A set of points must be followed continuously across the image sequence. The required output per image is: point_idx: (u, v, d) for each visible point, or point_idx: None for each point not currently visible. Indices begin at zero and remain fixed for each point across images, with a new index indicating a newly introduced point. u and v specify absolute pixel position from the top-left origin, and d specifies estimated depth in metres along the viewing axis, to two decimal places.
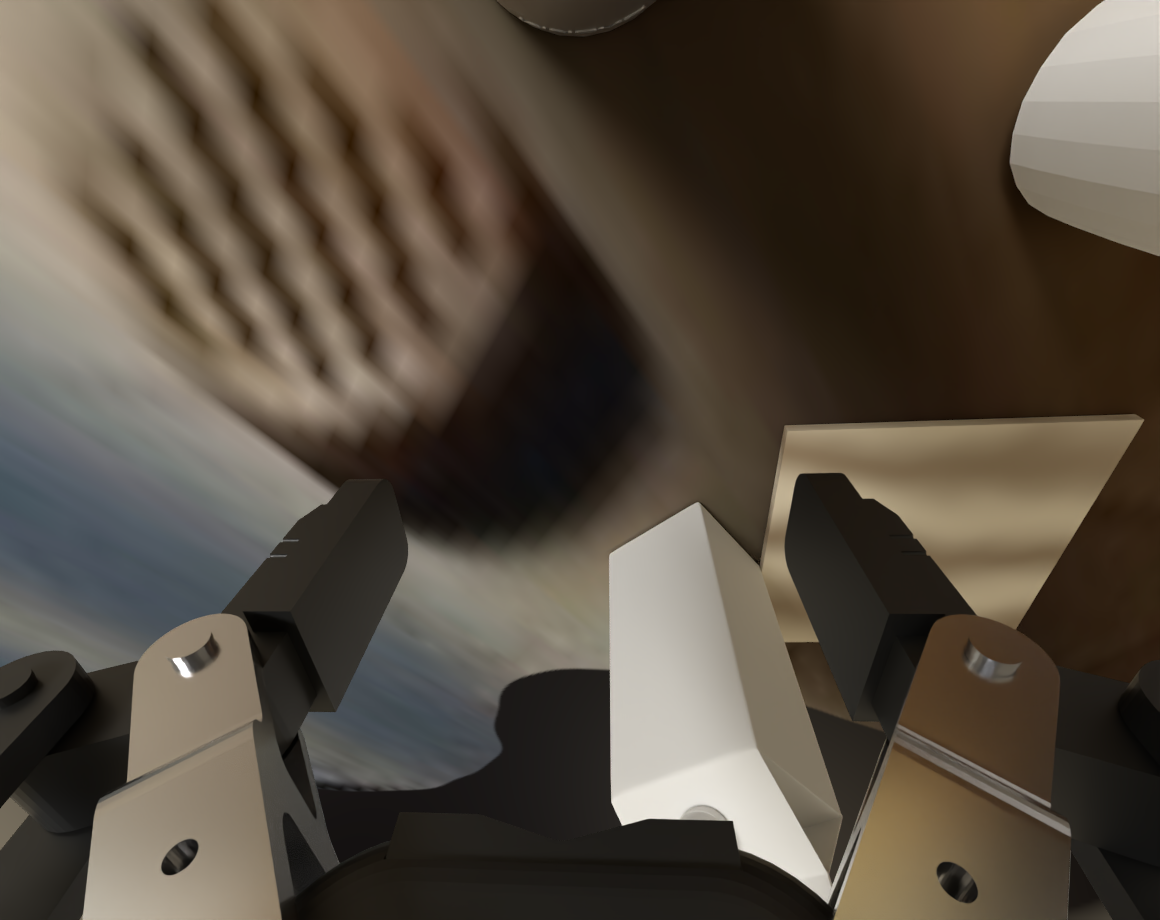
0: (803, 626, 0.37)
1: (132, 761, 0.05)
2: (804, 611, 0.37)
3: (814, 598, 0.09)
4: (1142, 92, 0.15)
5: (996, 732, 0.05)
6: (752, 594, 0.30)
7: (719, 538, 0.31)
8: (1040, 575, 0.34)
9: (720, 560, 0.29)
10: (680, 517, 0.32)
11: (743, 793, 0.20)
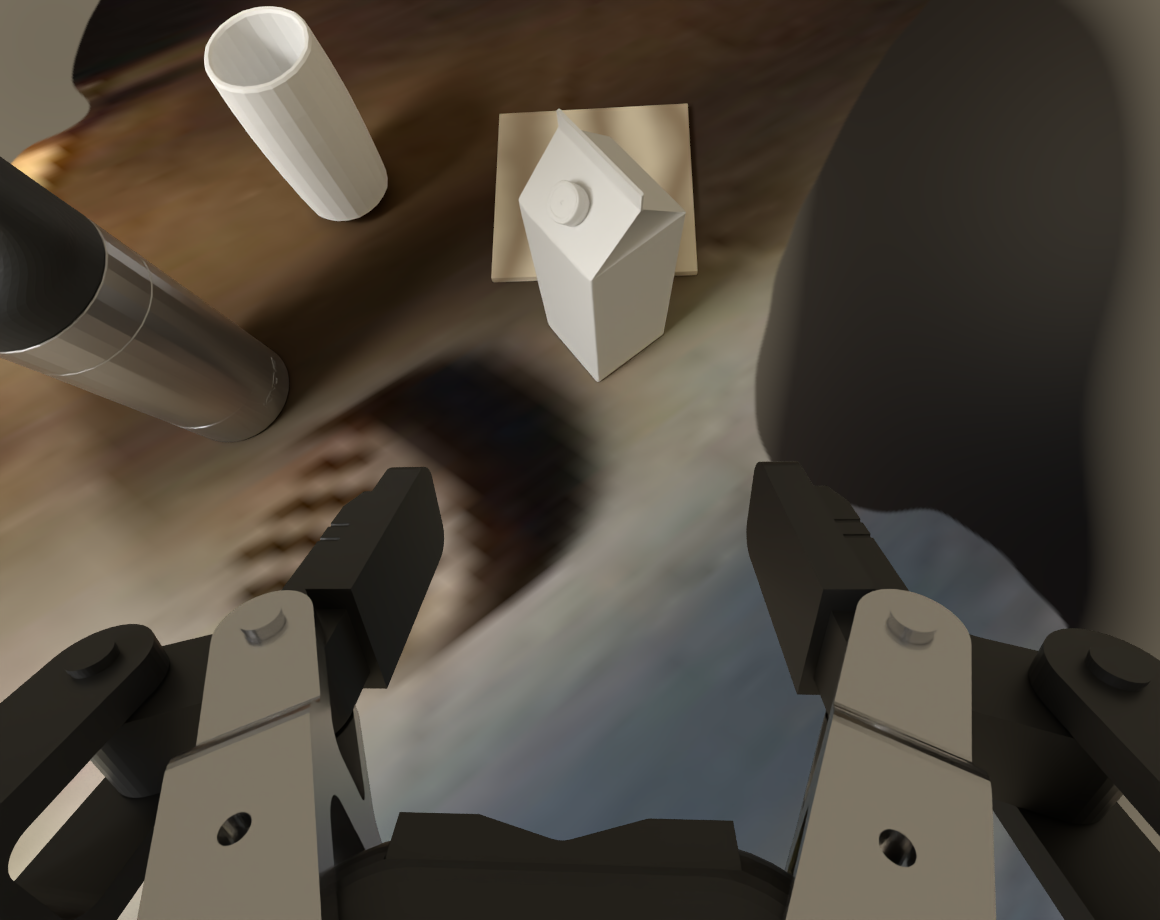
0: None
1: (203, 725, 0.06)
2: None
3: (769, 580, 0.10)
4: (301, 178, 0.43)
5: (921, 697, 0.06)
6: None
7: None
8: (617, 111, 0.50)
9: None
10: (556, 332, 0.45)
11: (542, 195, 0.31)
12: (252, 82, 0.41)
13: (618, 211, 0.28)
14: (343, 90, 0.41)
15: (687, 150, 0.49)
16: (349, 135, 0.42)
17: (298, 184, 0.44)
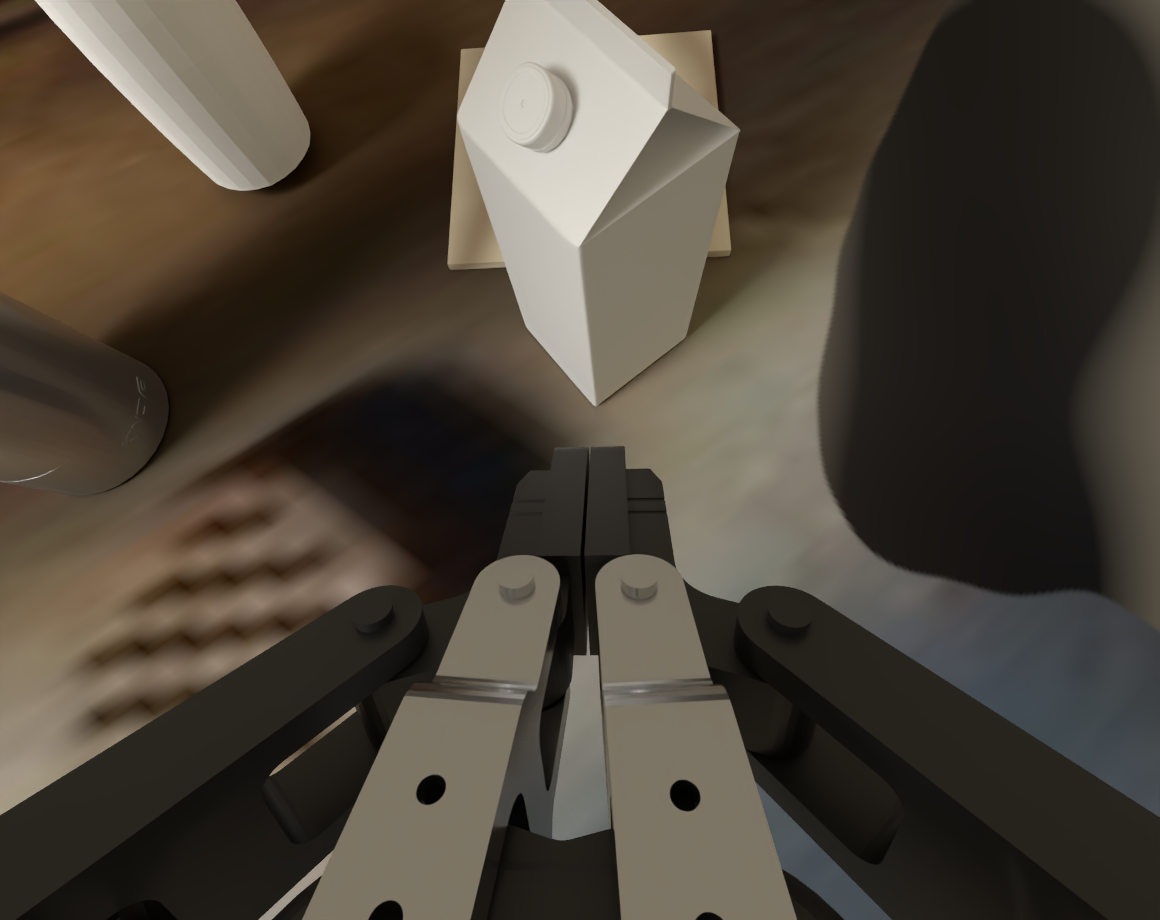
0: None
1: (446, 659, 0.06)
2: None
3: None
4: (173, 124, 0.31)
5: (663, 644, 0.06)
6: None
7: None
8: None
9: None
10: (536, 337, 0.32)
11: (494, 104, 0.18)
12: None
13: (625, 115, 0.15)
14: None
15: (712, 90, 0.36)
16: (237, 61, 0.30)
17: (173, 135, 0.32)
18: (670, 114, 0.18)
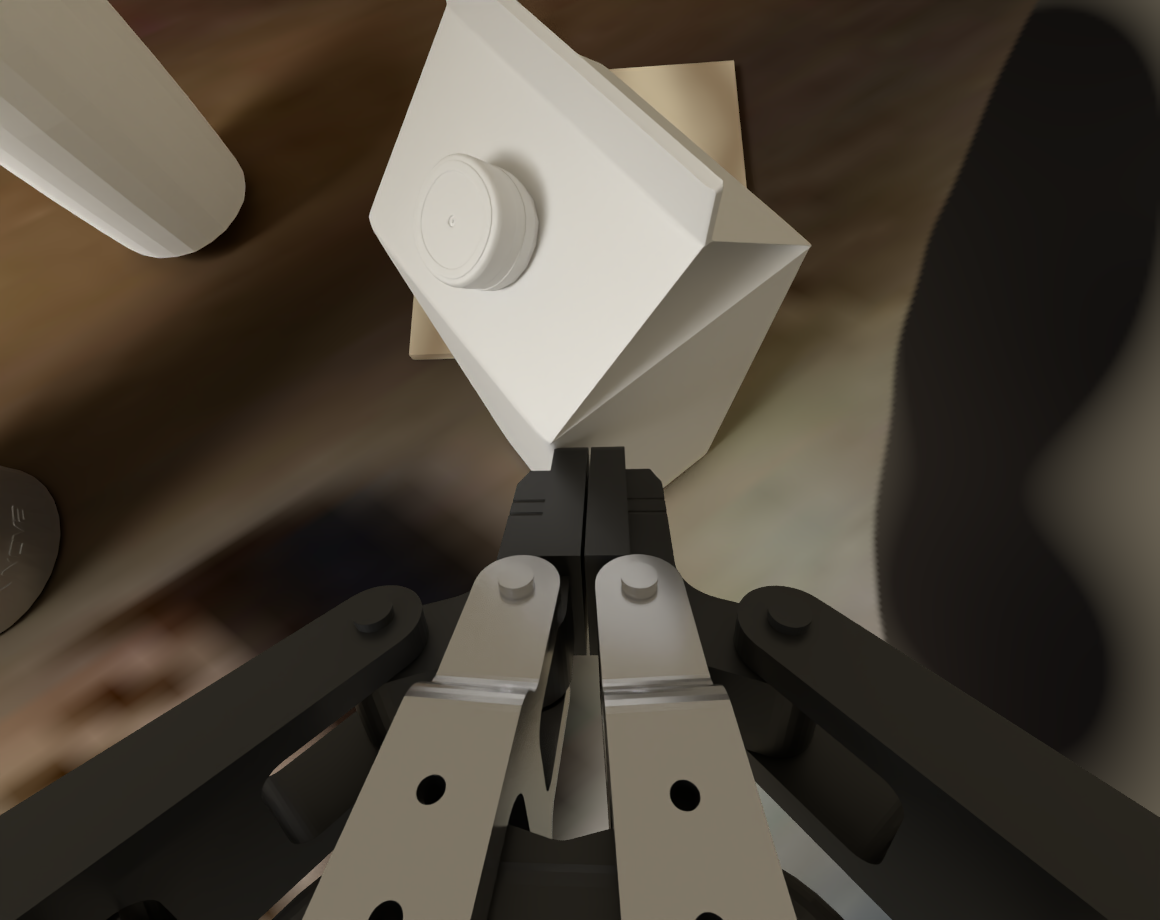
0: None
1: (446, 659, 0.06)
2: None
3: None
4: (54, 188, 0.24)
5: (663, 645, 0.06)
6: None
7: None
8: (620, 75, 0.31)
9: None
10: None
11: None
12: None
13: (627, 247, 0.09)
14: (106, 23, 0.22)
15: (736, 135, 0.30)
16: (131, 110, 0.23)
17: (58, 199, 0.25)
18: None
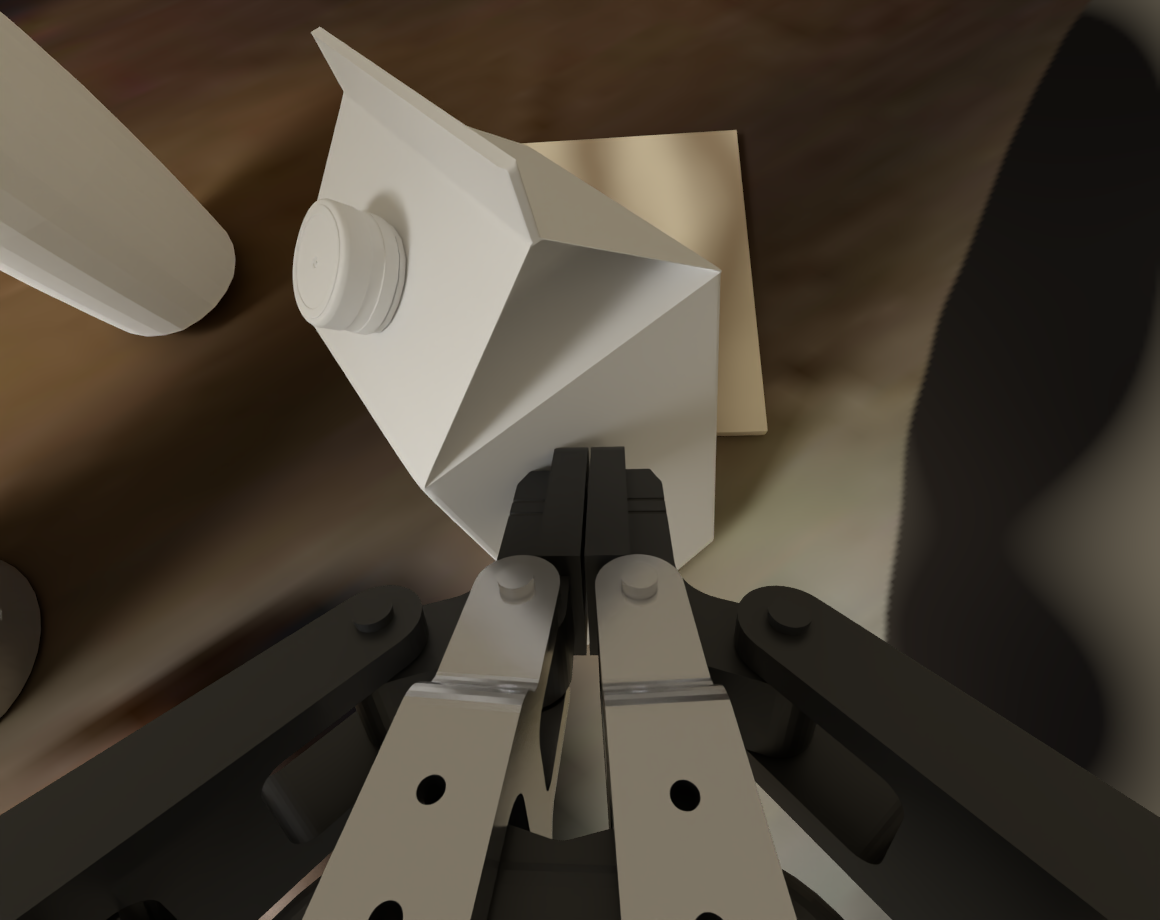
0: (725, 363, 0.27)
1: (445, 660, 0.06)
2: None
3: None
4: (34, 281, 0.23)
5: (663, 645, 0.06)
6: None
7: None
8: (620, 144, 0.30)
9: None
10: None
11: None
12: None
13: (471, 263, 0.08)
14: (87, 120, 0.21)
15: (739, 210, 0.29)
16: (113, 204, 0.22)
17: (40, 289, 0.24)
18: (597, 257, 0.11)
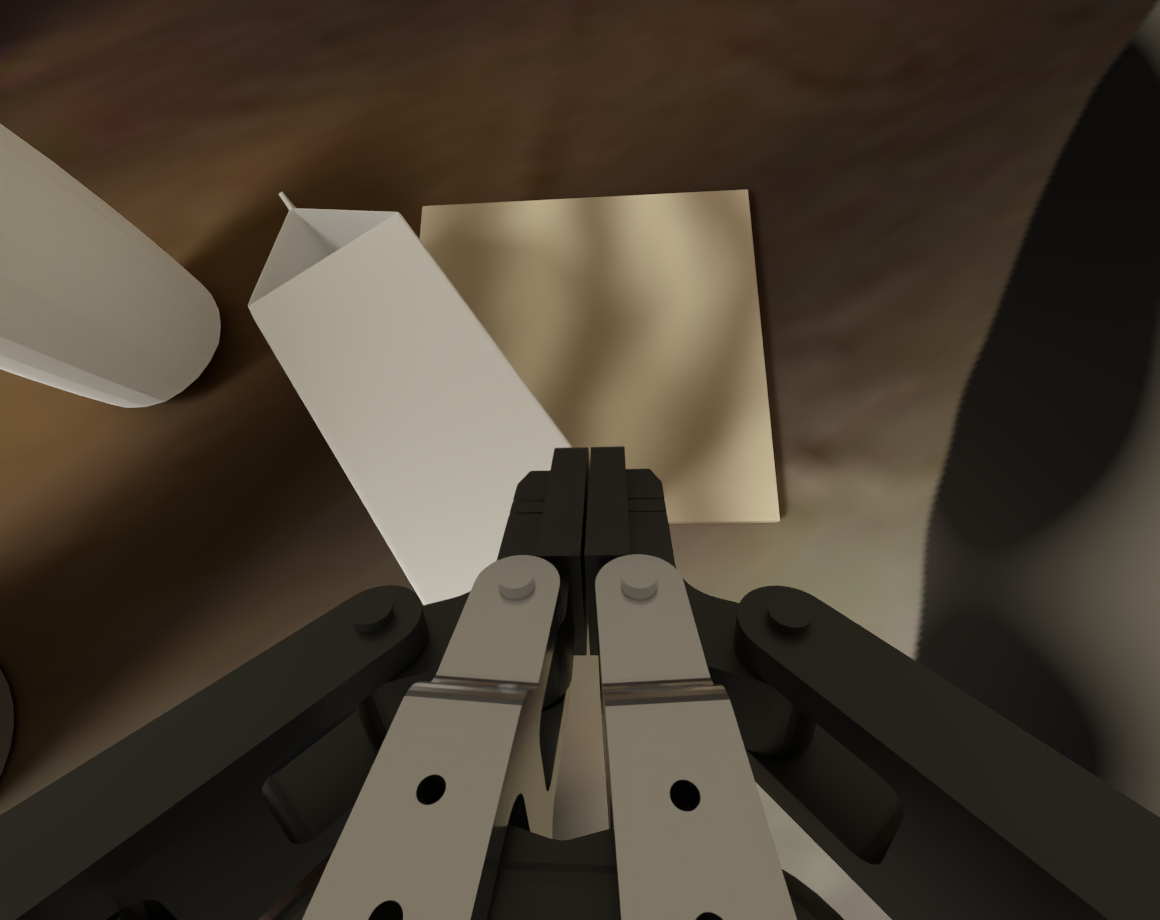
0: (735, 446, 0.25)
1: (445, 659, 0.06)
2: (701, 450, 0.25)
3: None
4: (3, 367, 0.22)
5: (663, 644, 0.06)
6: None
7: None
8: (625, 203, 0.29)
9: None
10: None
11: None
12: None
13: None
14: (55, 205, 0.20)
15: (751, 277, 0.27)
16: (85, 289, 0.21)
17: (10, 372, 0.23)
18: None
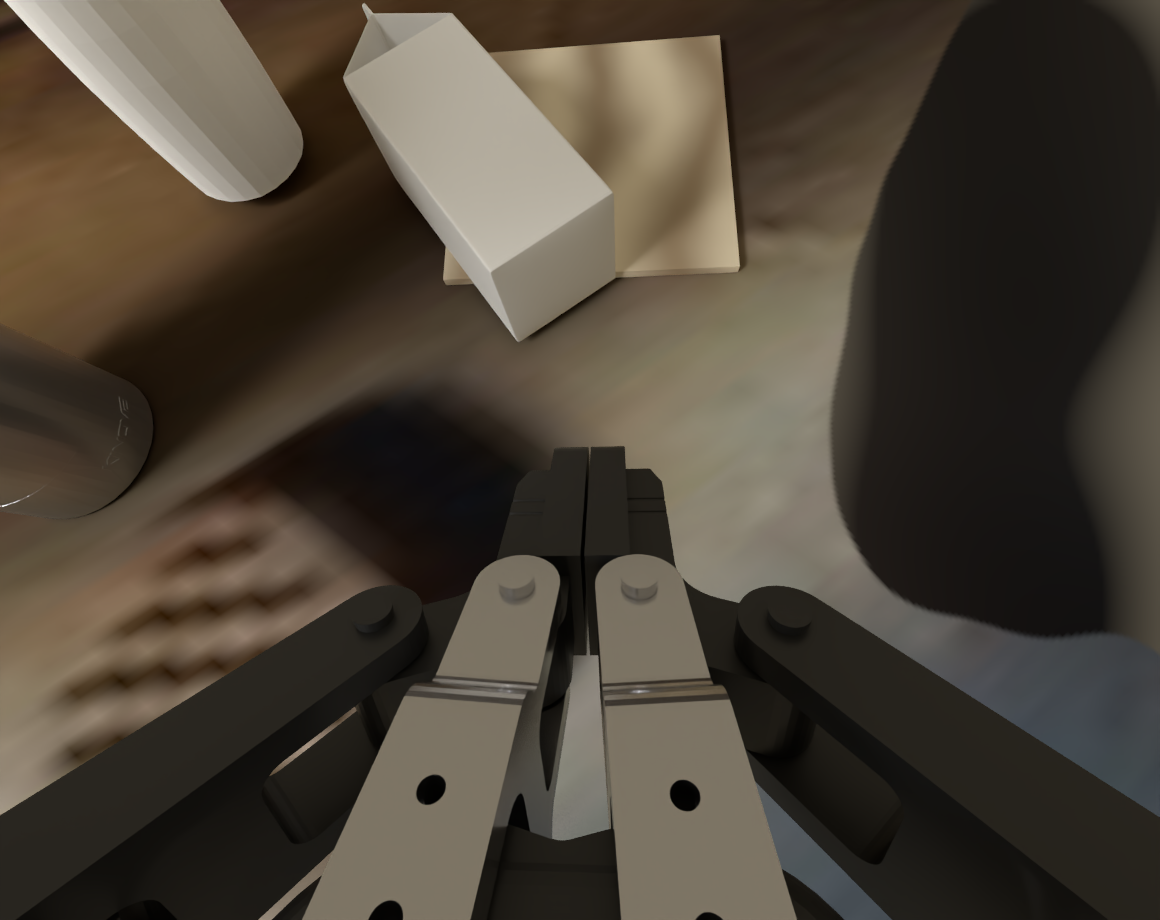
0: (706, 216, 0.33)
1: (446, 660, 0.06)
2: (679, 220, 0.33)
3: None
4: (158, 134, 0.30)
5: (663, 645, 0.06)
6: None
7: None
8: (622, 48, 0.36)
9: None
10: (508, 325, 0.30)
11: None
12: None
13: None
14: None
15: (720, 98, 0.35)
16: (223, 69, 0.28)
17: (158, 145, 0.31)
18: None
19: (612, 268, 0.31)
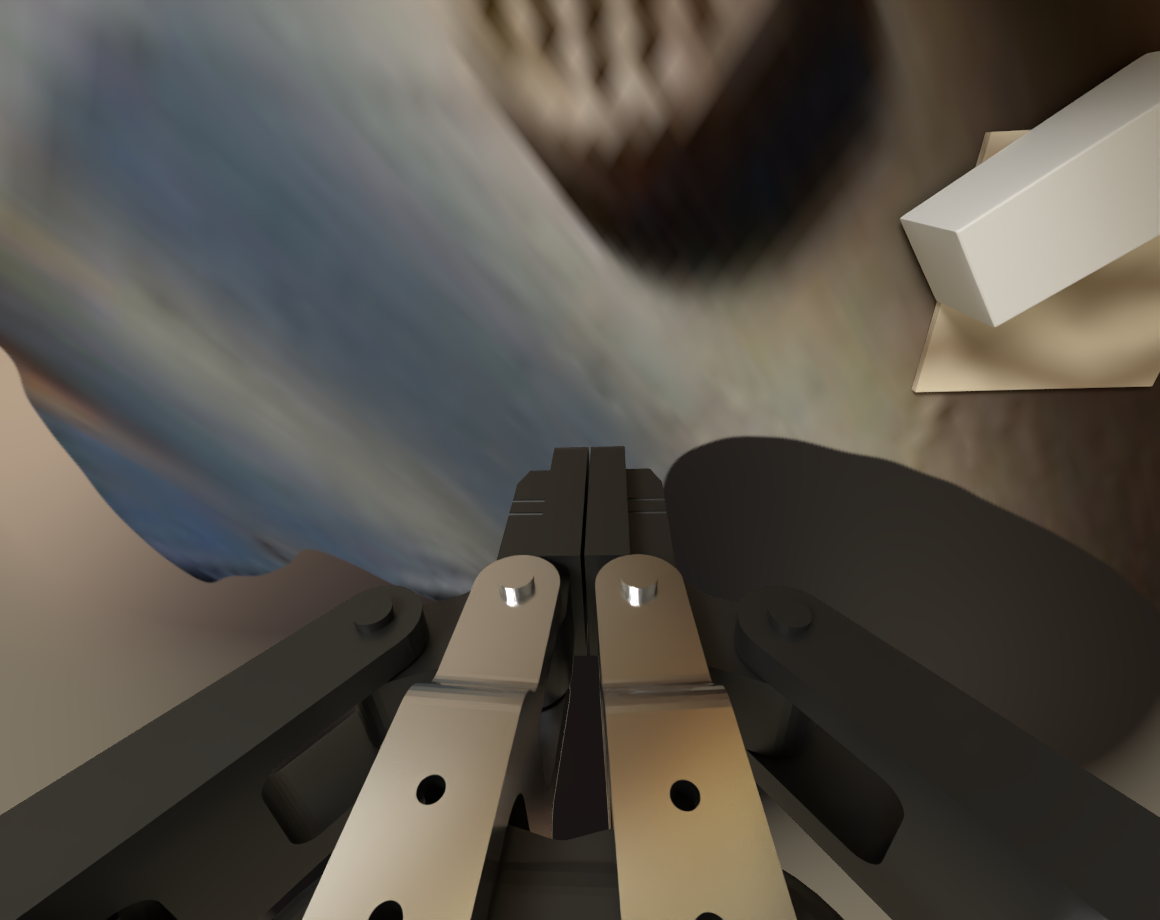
0: (968, 370, 0.42)
1: (445, 659, 0.06)
2: (972, 351, 0.41)
3: None
4: None
5: (663, 644, 0.06)
6: None
7: None
8: None
9: None
10: (916, 214, 0.35)
11: None
12: None
13: None
14: None
15: (1081, 384, 0.42)
16: None
17: None
18: None
19: (943, 302, 0.38)
